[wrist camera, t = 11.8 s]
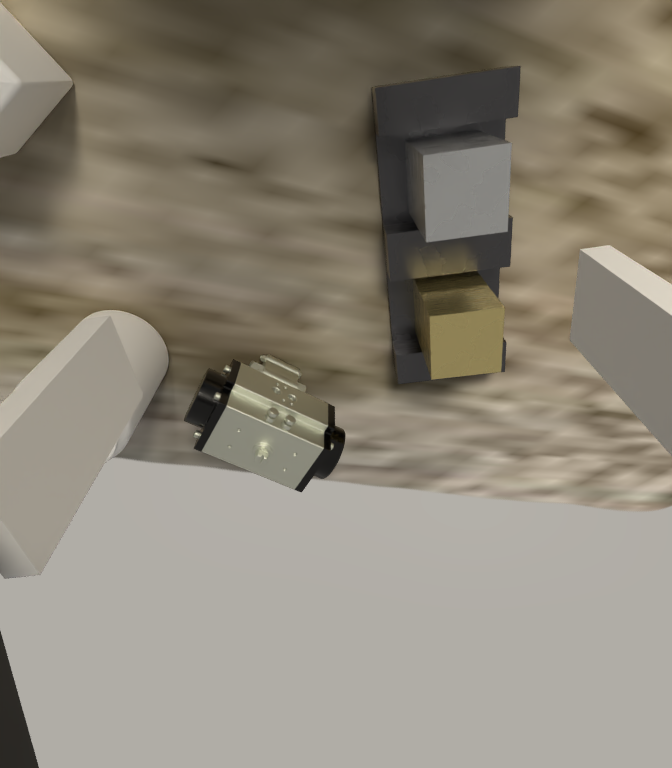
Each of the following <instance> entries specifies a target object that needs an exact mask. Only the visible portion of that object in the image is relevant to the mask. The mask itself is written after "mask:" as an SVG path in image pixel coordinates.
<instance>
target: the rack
mask: <svg viewBox="0 0 672 768" xmlns="http://www.w3.org/2000/svg"><path fill="white" fill-rule="evenodd" d="M519 85H520V66H509V67H500V68H494V69H487V70H480V71H474V72H467V73H461V74H454V75H448V76H441V77H434V78H428V79H421V80H415V81H408V82H401V83H395V84H388V85H382V86H375V87H372V97H373V110H374V122H375V134H376V147H377V159H378V171H379V184H380V196H381V208H382V221H383V233H384V245H385V258H386V270H387V282H388V295H389V307H390V319H391V332H392V344H393V356H394V367H395V372H396V376H397V381H398V384H403V383H412V382H420V381H429V380H431V377H430V374H429V371H428V368H427V365H426V362H425V359H424V356H423V353H422V350H421V347H420V344H419V341H418V338H417V335H416V332H415V312H414V290H413V279H416V278H424V277H432V276H439V275H447V274H455V273H463V272H470V271H477V272H478V273H479V274H480V276H481V277H482V278H483V280H484V281H485V282H486V284H487V285H488V286H489V288H490V289H491V290H492V291H493V293H494V294H495V295H496V297H497V298H498V295H499V271H500V268H501V267H509V266H510V259H511V240H512V221H513V217H511V216H510V215H509V214H508V232H501V233H493V234H486V235H478V236H471V237H463V238H456V239H448V240H441V241H433V242H426V241H425V240H424V238H423V236H422V234H421V233H420V231H419V229H418V227H417V226H416V224H415V222H414V220H413V219H412V217H411V215H410V214H409V206H408V187H407V169H406V150H405V140H408V139H415V138H422V137H429V136H436V135H443V134H450V133H457V132H463V131H470V130H479V131H481V132H484V133H487V134H490V135H492V136H495V137H498V138H500V139H503V140H505V122H506V118H513V117H518V104H519ZM505 356H506V341H505V340H504V338H503V348H502V366H501V372H505ZM496 373H497V372H496ZM487 374H489V373H487ZM478 375H480V374H478ZM469 376H472V375H469ZM460 377H463V376H460ZM451 378H455V377H451ZM442 379H446V378H442ZM433 380H438V379H433Z"/></svg>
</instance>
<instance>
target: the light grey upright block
mask: <svg viewBox="0 0 672 768" xmlns="http://www.w3.org/2000/svg"><path fill="white" fill-rule="evenodd" d="M511 149H512V143H511V142H508V141H506V140H503V139H500V138H498V137H495V136H492V135H490V134H487V133H484V132H481V131H479V130H470V131H463V132H457V133H450V134H443V135H436V136H429V137H422V138H415V139H408V140H405V150H406V169H407V187H408V206H409V214H410V215H411V217H412V219H413V220H414V222H415V224H416V226H417V227H418V229H419V231H420V233H421V234H422V236H423V238H424V240H425V241H426V242H433V241H441V240H448V239H456V238H463V237H471V236H478V235H486V234H493V233H501V232H508V213H509V191H510V170H511Z"/></svg>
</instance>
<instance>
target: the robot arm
mask: <svg viewBox="0 0 672 768" xmlns="http://www.w3.org/2000/svg"><path fill="white" fill-rule="evenodd" d="M570 341H571V342H572V344H573V345H574V346H575V347H576V348H577V349H578V350H579V351H580V353H581V354H582V355H583V356H584V357H585V358H586V359H587V361H588V362H589V363H590V364H591V365H592V366H593V367H594V368H595V370H596V371H597V372H598V373H599V374H600V375H601V376H602V378H603V379H604V380H605V381H606V382H607V383H608V384H609V385H610V387H611V388H612V389H613V390H614V391H615V392H616V393H617V395H618V396H619V397H620V398H621V399H622V400H623V401H624V402H625V404H626V405H627V406H628V407H629V408H630V409H631V410H632V412H633V413H634V414H635V415H636V416H637V417H638V418H639V419H640V421H641V422H642V423H643V424H644V425H645V426H646V427H647V429H648V430H649V431H650V432H651V433H652V434H653V435H654V436H655V438H656V439H657V440H658V441H659V442H660V443H661V444H662V446H663V447H664V448H665V449H666V450H667V451H668V452H669V453H670V455H671V456H672V284H670V283H669V282H667V281H665V280H664V279H662V278H661V277H659V276H657V275H656V274H654V273H653V272H651V271H650V270H648V269H646V268H645V267H643V266H642V265H640V264H638V263H637V262H635V261H634V260H632V259H630V258H629V257H627V256H626V255H624V254H623V253H621V252H619V251H618V250H616V249H615V248H613V247H611V246H610V245H607V246H600V247H593V248H586V249H580V255H579V263H578V272H577V281H576V289H575V298H574V307H573V315H572V324H571V333H570ZM142 397H143V393H142V391H141V388H140V386H139V383H138V381H137V378H136V376H135V374H134V371H133V369H132V366H131V364H130V362H129V359H128V357H127V354H126V352H125V350H124V347H123V345H122V342H121V340H120V338H119V335H118V333H117V330H116V328H115V326H114V323H113V321H112V318H111V316H110V315H109V316H102V317H95V318H87V319H84V320H83V321H82V322H81V323H80V324H79V325H78V326H77V327H76V328H75V329H74V330H73V331H72V332H71V333H70V334H69V335H68V336H67V337H66V338H65V339H64V340H63V341H62V342H61V343H60V344H59V345H58V346H57V347H56V348H55V350H54V351H53V352H52V353H51V354H50V355H49V356H48V357H47V358H46V359H45V360H44V361H43V362H42V363H41V364H40V365H39V366H38V367H37V368H36V369H35V370H34V371H33V372H32V373H31V374H30V375H29V376H28V377H27V378H26V379H25V380H24V381H23V382H22V383H21V384H20V385H19V386H18V387H17V388H16V389H15V390H14V391H13V392H12V393H11V394H10V395H9V396H8V397H7V398H6V399H5V400H4V401H3V402H2V403H1V404H0V573H1V575H2V576H3V577H4V578H16V577H25V576H35V575H41V573H42V571H43V569H44V568H45V566H46V564H47V562H48V560H49V559H50V557H51V555H52V554H53V552H54V550H55V548H56V547H57V545H58V543H59V541H60V540H61V538H62V536H63V534H64V533H65V531H66V529H67V528H68V526H69V524H70V522H71V521H72V519H73V517H74V515H75V513H76V512H77V510H78V508H79V506H80V505H81V503H82V501H83V499H84V498H85V496H86V494H87V493H88V491H89V489H90V487H91V485H92V484H93V482H94V480H95V479H96V477H97V475H98V473H99V472H100V470H101V468H102V466H103V465H104V463H105V461H106V459H107V458H108V456H109V454H110V453H111V451H112V449H113V447H114V446H115V444H116V442H117V440H118V439H119V437H120V435H121V433H122V432H123V430H124V428H125V426H126V425H127V423H128V421H129V419H130V418H131V416H132V414H133V412H134V411H135V409H136V407H137V405H138V404H139V402H140V400H141V398H142ZM0 768H39V767H38V763H37V759H36V756H35V752H34V749H33V745H32V742H31V738H30V735H29V731H28V727H27V724H26V720H25V717H24V713H23V710H22V706H21V703H20V699H19V696H18V692H17V689H16V685H15V681H14V678H13V674H12V671H11V667H10V664H9V660H8V656H7V653H6V649H5V646H4V643H3V639H2V635H1V632H0Z"/></svg>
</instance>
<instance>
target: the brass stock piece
mask: <svg viewBox="0 0 672 768" xmlns="http://www.w3.org/2000/svg"><path fill="white" fill-rule="evenodd" d="M413 290H414V312H415V332H416V335H417V338H418V341H419V344H420V347H421V350H422V353H423V356H424V359H425V362H426V365H427V368H428V371H429V374H430V377H431V380H433V379H442V378H451V377H460V376H469V375H478V374H487V373H496V372H501V366H502V348H503V330H504V311H505V307H504V306H503V305H502V303H501V302H500V301H499V299H498V298H497V297H496V295H495V294H494V293H493V291H492V290H491V289H490V288H489V286H488V285H487V284H486V282H485V281H484V280H483V278H482V277H481V276H480V274H479V273H478V272H477V271H470V272H463V273H455V274H447V275H439V276H432V277H424V278H416V279H413Z"/></svg>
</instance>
